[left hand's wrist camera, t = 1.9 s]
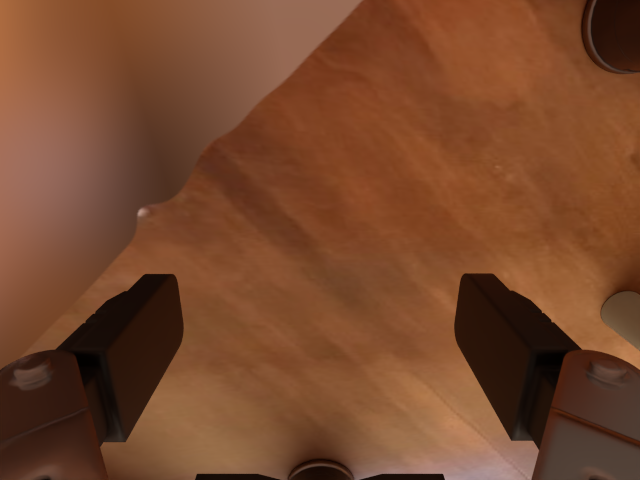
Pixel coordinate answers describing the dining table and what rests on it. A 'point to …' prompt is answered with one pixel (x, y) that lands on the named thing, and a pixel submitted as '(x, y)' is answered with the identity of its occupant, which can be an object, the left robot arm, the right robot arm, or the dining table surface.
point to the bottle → (624, 316)
